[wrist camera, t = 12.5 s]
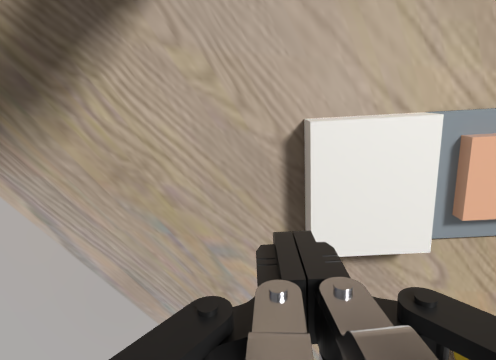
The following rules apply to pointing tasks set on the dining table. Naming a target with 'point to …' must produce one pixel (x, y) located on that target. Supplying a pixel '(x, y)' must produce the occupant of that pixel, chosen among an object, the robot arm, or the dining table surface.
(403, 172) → the white flat block
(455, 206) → the terracotta tile
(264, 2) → the dining table surface
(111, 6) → the dining table surface
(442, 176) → the slate mat
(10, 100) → the dining table surface
